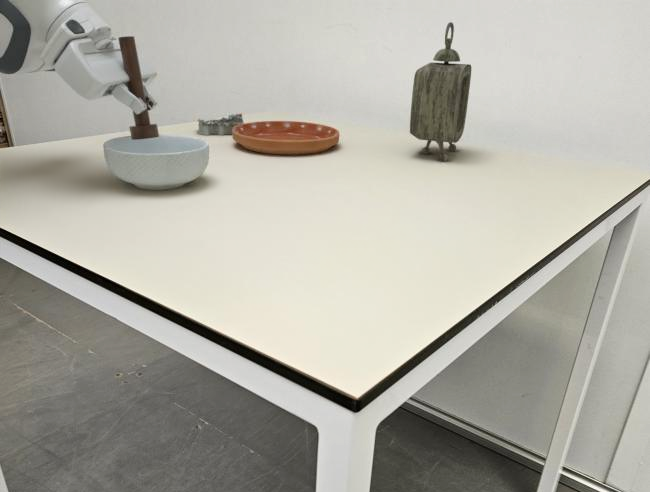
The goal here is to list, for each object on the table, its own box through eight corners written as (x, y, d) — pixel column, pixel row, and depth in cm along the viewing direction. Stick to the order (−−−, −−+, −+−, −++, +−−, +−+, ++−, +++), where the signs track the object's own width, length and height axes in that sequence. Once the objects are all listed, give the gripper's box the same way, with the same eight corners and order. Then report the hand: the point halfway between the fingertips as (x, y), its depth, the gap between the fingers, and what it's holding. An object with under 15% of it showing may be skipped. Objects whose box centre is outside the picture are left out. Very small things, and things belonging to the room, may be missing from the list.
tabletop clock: (450, 165, 119) (467, 23, 107) (405, 160, 121) (417, 22, 110) (461, 151, 131) (477, 22, 119) (420, 147, 133) (432, 21, 122)
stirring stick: (134, 140, 96) (113, 36, 90) (129, 139, 100) (109, 39, 94) (161, 136, 98) (143, 34, 92) (155, 136, 101) (137, 37, 96)
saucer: (326, 135, 143) (326, 119, 141) (350, 157, 123) (351, 138, 121) (229, 137, 138) (228, 120, 136) (237, 160, 118) (236, 140, 117)
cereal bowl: (205, 199, 94) (202, 153, 91) (97, 199, 93) (89, 152, 90) (215, 173, 109) (213, 133, 106) (122, 172, 108) (116, 132, 105)
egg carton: (244, 131, 146) (244, 113, 144) (243, 137, 139) (243, 118, 137) (199, 130, 145) (198, 112, 143) (196, 136, 138) (195, 117, 136)
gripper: (105, 51, 104) (164, 113, 107) (32, 59, 86) (105, 133, 89) (126, 23, 101) (185, 87, 104) (55, 25, 84) (129, 103, 87)
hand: (148, 109), depth 97 cm, fingers closed on stirring stick, 2 cm apart
